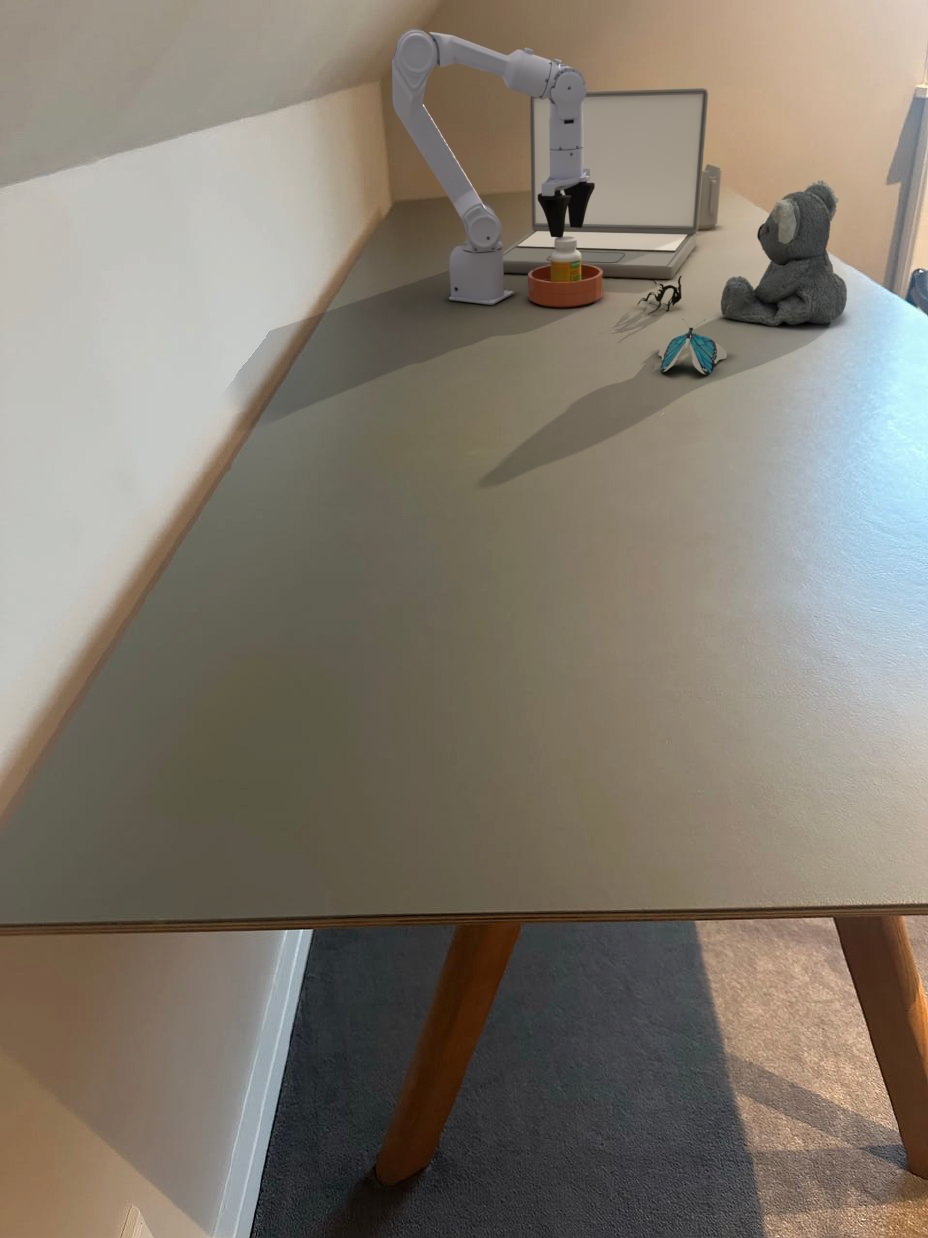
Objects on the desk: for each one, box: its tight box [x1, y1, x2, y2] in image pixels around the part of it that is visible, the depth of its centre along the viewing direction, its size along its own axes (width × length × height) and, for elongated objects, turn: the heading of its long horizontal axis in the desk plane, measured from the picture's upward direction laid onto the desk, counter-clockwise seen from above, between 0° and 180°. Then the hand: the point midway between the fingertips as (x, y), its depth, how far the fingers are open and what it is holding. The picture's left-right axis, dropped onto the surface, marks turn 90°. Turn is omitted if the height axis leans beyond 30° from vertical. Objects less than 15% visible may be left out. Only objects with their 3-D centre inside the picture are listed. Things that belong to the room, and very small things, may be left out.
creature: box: [636, 275, 683, 315], centre depth 160 cm, size 8×5×8 cm
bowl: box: [527, 264, 604, 308], centre depth 168 cm, size 13×13×4 cm
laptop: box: [503, 87, 709, 280], centre depth 184 cm, size 36×28×29 cm
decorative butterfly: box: [658, 318, 728, 376], centre depth 136 cm, size 10×6×10 cm
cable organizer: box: [698, 163, 723, 230], centre depth 208 cm, size 7×12×12 cm, turn 13°
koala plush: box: [720, 179, 848, 327], centre depth 149 cm, size 17×18×20 cm
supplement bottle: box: [551, 237, 581, 282], centre depth 167 cm, size 5×5×10 cm
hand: (566, 231), depth 168 cm, fingers open, 7 cm apart
